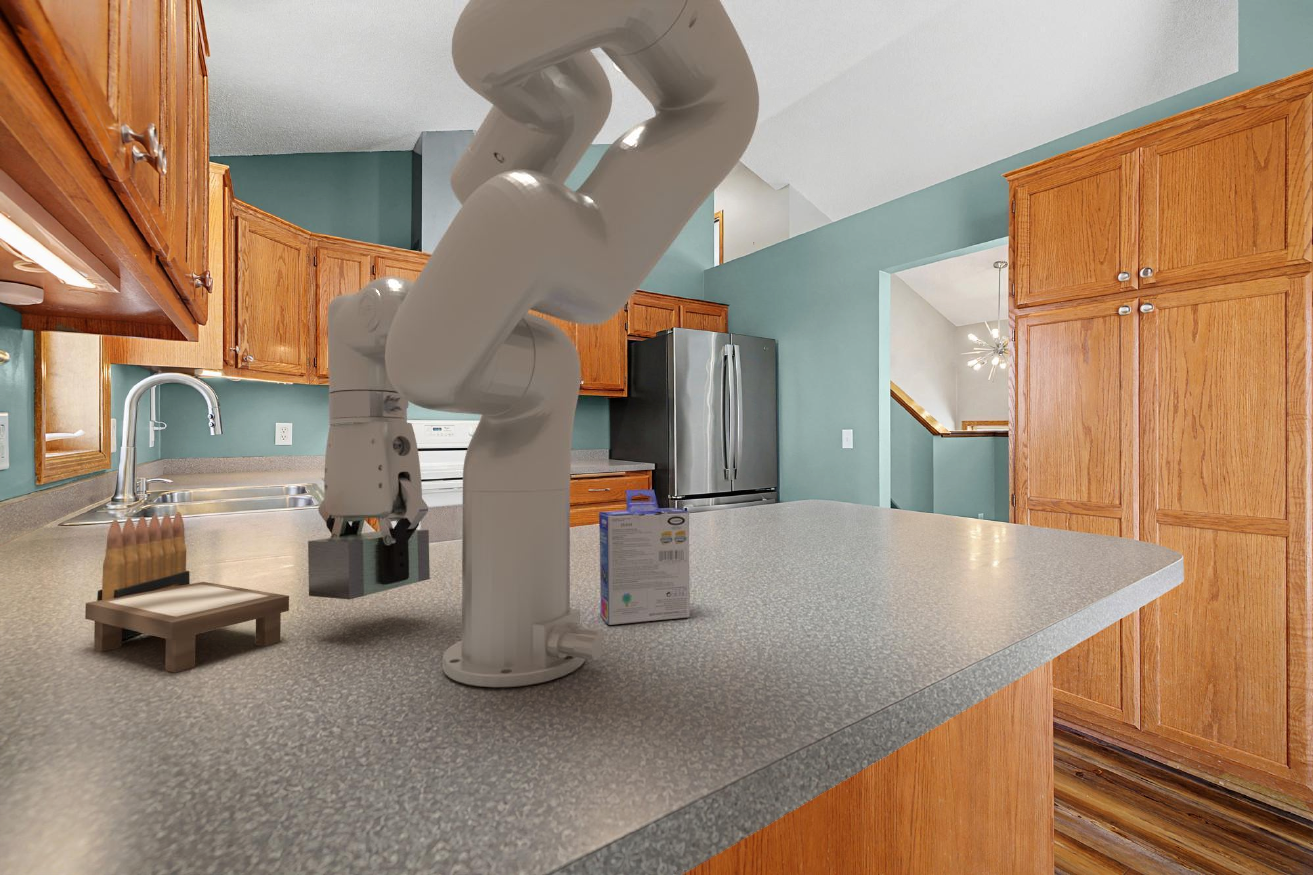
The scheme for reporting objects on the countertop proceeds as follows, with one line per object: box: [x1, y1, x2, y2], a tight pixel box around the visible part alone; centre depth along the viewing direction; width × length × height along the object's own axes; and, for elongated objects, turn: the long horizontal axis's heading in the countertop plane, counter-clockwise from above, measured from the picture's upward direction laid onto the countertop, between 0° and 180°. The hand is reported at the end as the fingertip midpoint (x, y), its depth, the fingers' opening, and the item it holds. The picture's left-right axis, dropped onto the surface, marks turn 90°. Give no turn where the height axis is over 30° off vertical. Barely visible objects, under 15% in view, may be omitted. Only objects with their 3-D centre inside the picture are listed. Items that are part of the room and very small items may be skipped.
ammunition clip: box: [96, 511, 191, 641], centre depth 63 cm, size 11×2×12 cm, turn 5°
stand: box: [84, 581, 290, 674], centre depth 57 cm, size 15×10×5 cm, turn 65°
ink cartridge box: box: [598, 489, 691, 626], centre depth 68 cm, size 10×6×14 cm, turn 108°
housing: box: [307, 529, 431, 600], centre depth 62 cm, size 6×10×6 cm, turn 155°
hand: (372, 578), depth 62 cm, fingers closed on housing, 6 cm apart
